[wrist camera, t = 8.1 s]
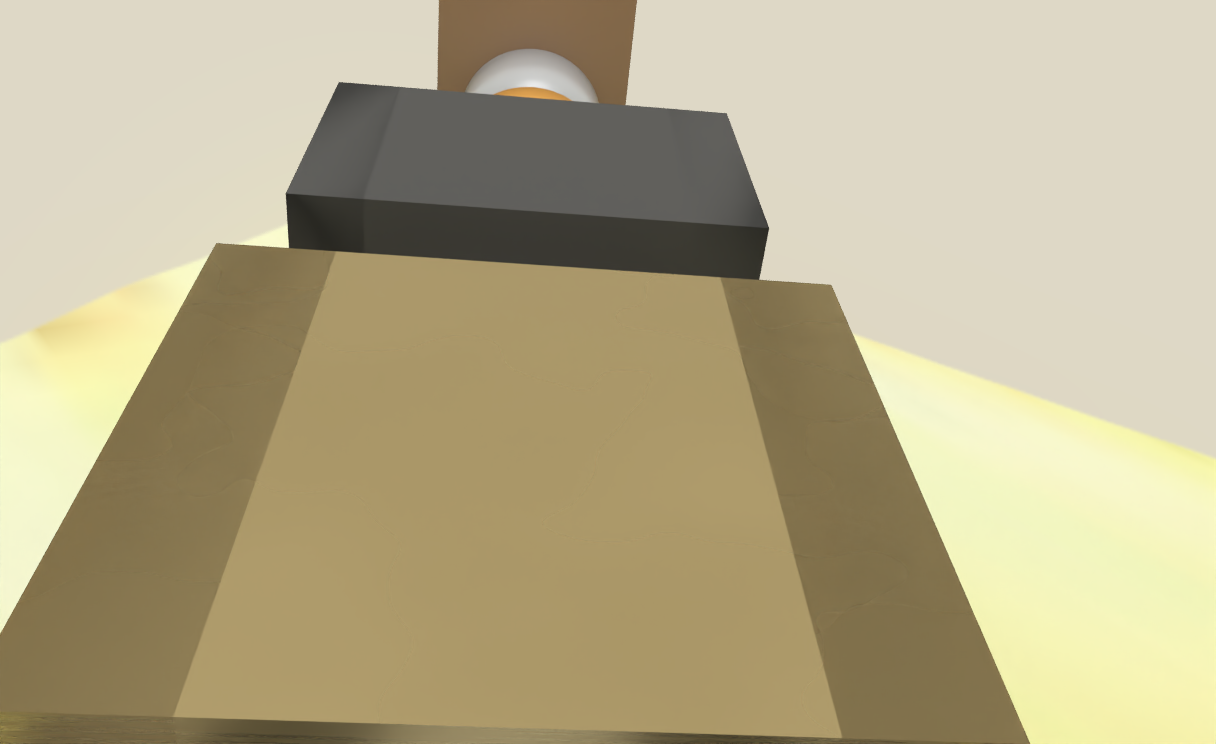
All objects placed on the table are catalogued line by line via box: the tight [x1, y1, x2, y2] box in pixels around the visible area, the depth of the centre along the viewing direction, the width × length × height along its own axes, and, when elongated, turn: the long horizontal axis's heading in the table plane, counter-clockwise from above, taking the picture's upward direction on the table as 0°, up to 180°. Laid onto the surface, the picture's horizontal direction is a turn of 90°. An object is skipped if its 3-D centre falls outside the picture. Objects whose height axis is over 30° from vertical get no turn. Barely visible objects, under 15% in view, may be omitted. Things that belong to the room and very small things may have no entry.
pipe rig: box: [437, 0, 637, 105], centre depth 18 cm, size 14×26×16 cm, turn 2°
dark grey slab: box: [286, 82, 769, 280], centre depth 17 cm, size 6×4×6 cm
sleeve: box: [0, 243, 1030, 744], centre depth 11 cm, size 6×6×6 cm
